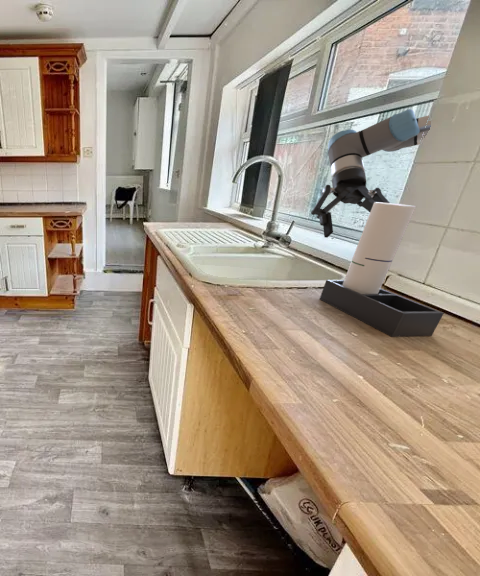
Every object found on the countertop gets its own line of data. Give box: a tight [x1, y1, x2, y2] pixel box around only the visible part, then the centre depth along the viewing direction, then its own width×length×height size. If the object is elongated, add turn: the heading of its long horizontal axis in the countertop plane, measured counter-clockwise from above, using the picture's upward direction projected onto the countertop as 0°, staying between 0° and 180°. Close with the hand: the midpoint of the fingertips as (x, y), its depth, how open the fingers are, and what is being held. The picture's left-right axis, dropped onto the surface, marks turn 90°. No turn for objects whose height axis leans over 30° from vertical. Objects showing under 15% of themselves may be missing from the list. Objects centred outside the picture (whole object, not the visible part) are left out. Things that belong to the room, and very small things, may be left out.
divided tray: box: [319, 279, 445, 338], centre depth 73 cm, size 10×19×6 cm, turn 7°
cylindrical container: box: [342, 202, 417, 294], centre depth 74 cm, size 7×7×25 cm
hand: (357, 237), depth 81 cm, fingers open, 13 cm apart
